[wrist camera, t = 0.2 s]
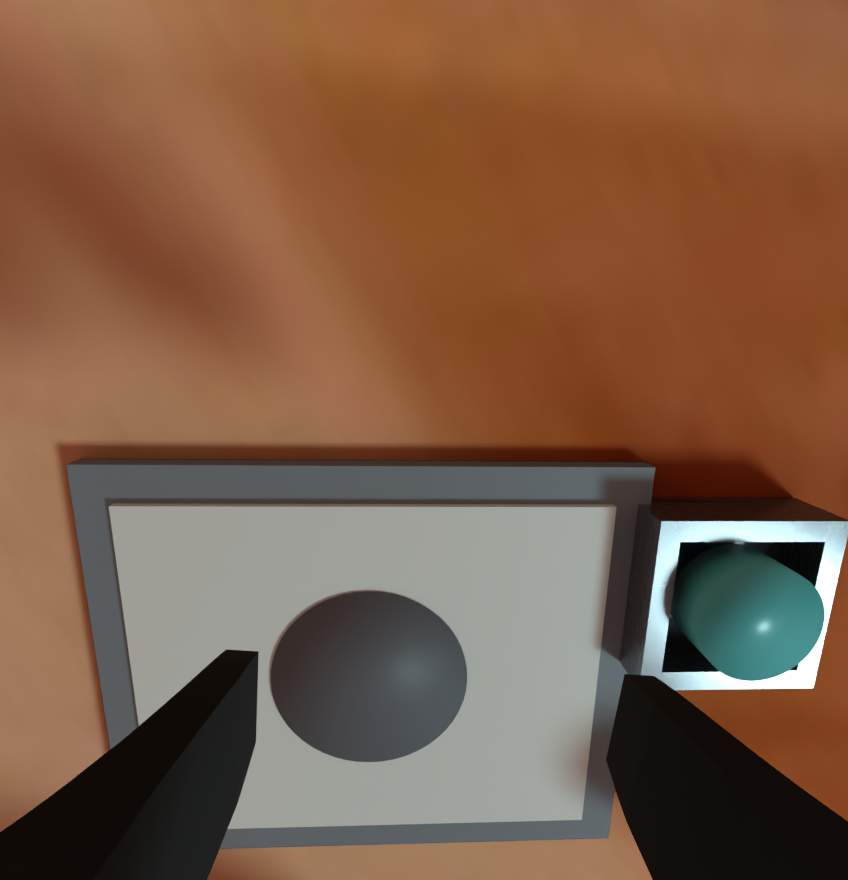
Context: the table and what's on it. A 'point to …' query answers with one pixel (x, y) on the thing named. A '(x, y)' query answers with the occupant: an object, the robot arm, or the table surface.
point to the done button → (747, 612)
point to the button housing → (697, 530)
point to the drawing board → (377, 633)
